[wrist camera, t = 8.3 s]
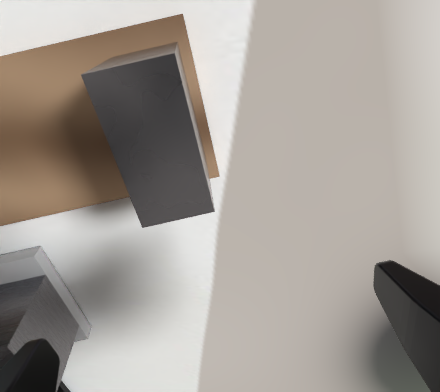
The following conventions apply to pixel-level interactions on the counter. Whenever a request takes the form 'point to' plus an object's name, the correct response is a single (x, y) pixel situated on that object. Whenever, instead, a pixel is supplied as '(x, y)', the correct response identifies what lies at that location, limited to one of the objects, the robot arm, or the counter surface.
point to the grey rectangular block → (37, 307)
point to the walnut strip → (68, 123)
